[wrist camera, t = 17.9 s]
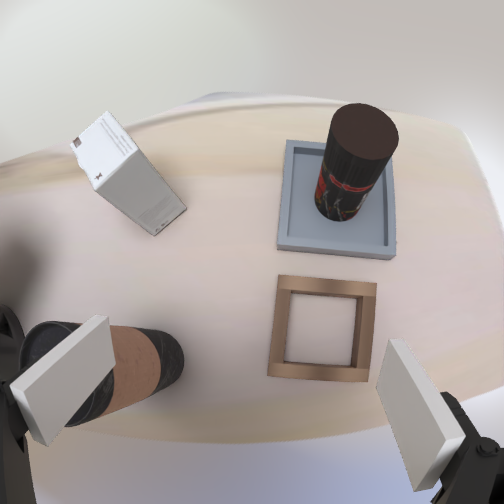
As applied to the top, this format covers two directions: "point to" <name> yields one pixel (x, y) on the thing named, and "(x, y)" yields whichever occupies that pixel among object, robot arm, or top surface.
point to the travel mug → (123, 373)
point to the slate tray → (327, 231)
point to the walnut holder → (362, 330)
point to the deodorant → (353, 159)
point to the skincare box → (125, 175)
